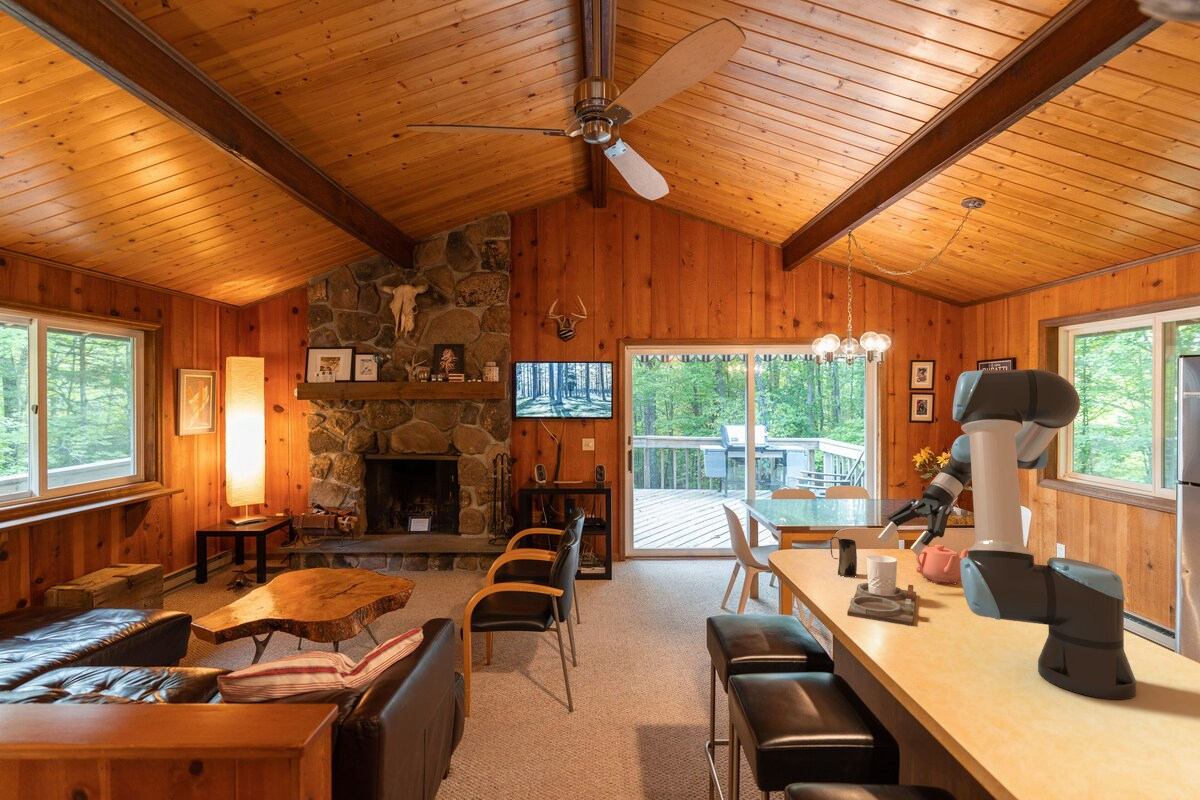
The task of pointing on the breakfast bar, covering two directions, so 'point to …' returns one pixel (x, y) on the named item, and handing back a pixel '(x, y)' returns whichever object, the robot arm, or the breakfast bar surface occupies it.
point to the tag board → (884, 605)
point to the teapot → (940, 564)
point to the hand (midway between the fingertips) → (897, 546)
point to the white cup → (881, 574)
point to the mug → (846, 557)
